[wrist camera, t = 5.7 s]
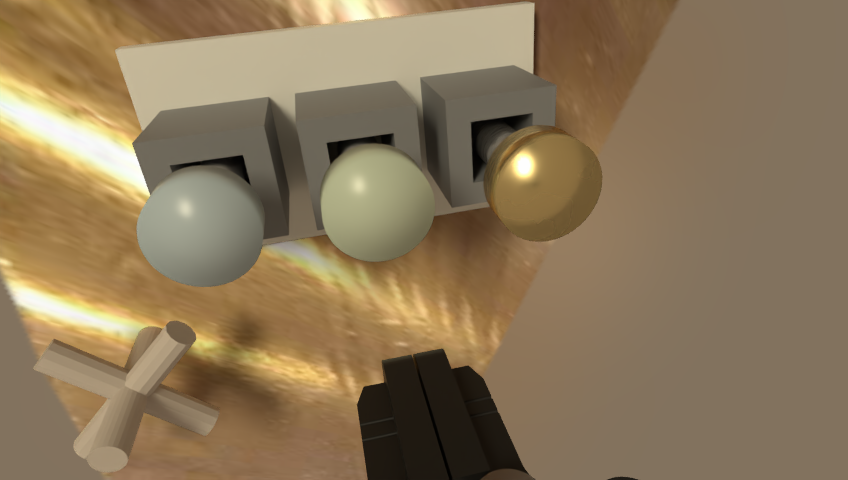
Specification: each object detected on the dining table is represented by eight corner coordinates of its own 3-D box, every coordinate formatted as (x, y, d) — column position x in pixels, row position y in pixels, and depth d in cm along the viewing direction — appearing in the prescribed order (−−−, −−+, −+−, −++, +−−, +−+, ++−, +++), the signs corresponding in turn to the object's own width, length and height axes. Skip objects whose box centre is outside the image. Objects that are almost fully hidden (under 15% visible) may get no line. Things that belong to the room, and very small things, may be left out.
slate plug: (165, 129, 27) (118, 191, 20) (259, 117, 27) (247, 172, 20) (192, 212, 29) (158, 296, 22) (278, 198, 30) (273, 275, 22)
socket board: (121, 46, 28) (73, 71, 21) (526, 1, 31) (583, 11, 25) (189, 249, 33) (166, 313, 27) (524, 192, 37) (570, 239, 31)
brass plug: (443, 97, 28) (496, 146, 21) (527, 86, 28) (606, 129, 21) (448, 180, 30) (497, 250, 23) (526, 167, 31) (598, 231, 23)
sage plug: (306, 112, 27) (312, 167, 20) (395, 100, 28) (430, 149, 21) (322, 195, 30) (331, 270, 22) (403, 182, 30) (438, 251, 23)
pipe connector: (262, 319, 37) (252, 430, 28) (181, 415, 39) (149, 545, 30) (118, 244, 32) (53, 349, 24) (36, 357, 34) (-50, 490, 26)
